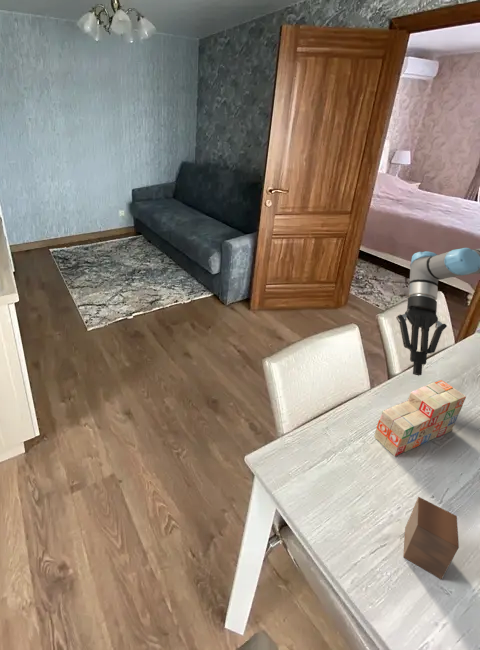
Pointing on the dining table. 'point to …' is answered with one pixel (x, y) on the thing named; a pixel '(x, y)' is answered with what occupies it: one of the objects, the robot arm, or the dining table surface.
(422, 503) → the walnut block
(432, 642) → the dining table surface
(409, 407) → the stack of blocks
